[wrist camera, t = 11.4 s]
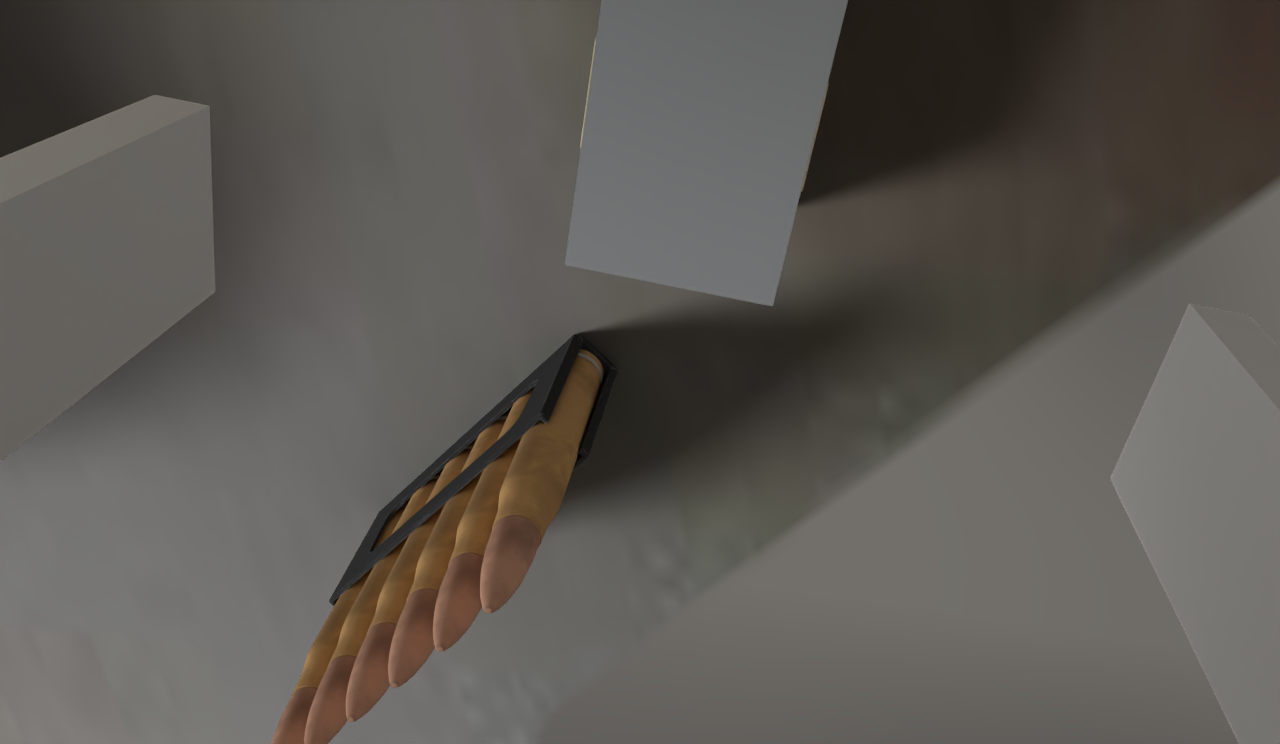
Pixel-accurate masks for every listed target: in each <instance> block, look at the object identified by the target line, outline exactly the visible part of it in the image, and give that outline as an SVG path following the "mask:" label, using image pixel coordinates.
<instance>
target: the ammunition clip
mask: <svg viewBox="0 0 1280 744" xmlns="http://www.w3.org/2000/svg"><path fill="white" fill-rule="evenodd" d="M616 373H617V369H616V368H615V367H614V366H613V365H612V364H611V363H610V362H609V361H607V360H606V359H605V358H604V357H603V356H602V355H601V354H600V353H599V352H598V351H597V350H596V349H595V348H593V347H592V346H591V345H590V344H589V343H588V342H587V341H586V340H585V339H584V338H583V337H582V336H581V335H573V336H572V337H571V338H570V339H569V340H568V341H567V342H566V343H564V344H563V345H562V346H561V347H560V348H559V349H558V350H557V351H556V352H555V353H553V354H552V355H551V356H550V357H549V358H548V359H547V360H546V361H545V362H544V363H542V364H541V365H540V366H539V367H538V368H537V369H536V370H535V371H534V372H533V373H531V374H530V375H529V376H528V377H527V378H526V379H525V380H524V381H523V382H522V383H520V384H519V385H518V386H517V387H516V388H515V389H514V390H513V391H512V392H511V393H509V394H508V395H507V396H506V397H505V398H504V399H503V400H502V401H501V402H500V403H499V404H497V405H496V406H495V407H494V408H493V409H492V410H491V411H490V412H489V413H488V414H486V415H485V416H484V417H483V418H482V419H481V420H480V421H479V422H478V423H477V424H475V425H474V426H473V427H472V428H471V429H470V430H469V431H468V432H467V433H466V434H464V435H463V436H462V437H461V438H460V439H459V440H458V441H457V442H456V443H455V444H453V445H452V446H451V447H450V448H449V449H448V450H447V451H446V452H445V453H444V454H442V455H441V456H440V457H439V458H438V459H437V460H436V461H435V462H434V463H433V464H432V465H430V466H429V467H428V468H427V469H426V470H425V471H424V472H423V473H422V474H421V475H419V476H418V477H417V478H416V479H415V480H414V481H413V482H412V483H411V484H410V485H408V486H407V487H406V488H405V489H404V490H403V491H402V492H401V493H400V494H399V495H397V496H396V497H395V498H394V499H393V500H392V501H391V502H390V503H389V504H388V505H386V506H385V507H384V508H383V509H382V510H381V511H380V512H379V513H378V515H377V517H376V519H375V520H374V522H373V524H372V526H371V527H370V529H369V531H368V533H367V534H366V536H365V538H364V540H363V542H362V543H361V545H360V547H359V549H358V550H357V552H356V554H355V556H354V557H353V559H352V561H351V563H350V565H349V566H348V568H347V570H346V572H345V573H344V575H343V577H342V579H341V581H340V582H339V584H338V586H337V588H336V589H335V591H334V593H333V595H332V596H331V598H330V600H329V602H330V603H331V604H332V605H333V606H334V608H333V610H332V611H331V613H330V615H329V617H328V618H327V620H326V622H325V624H324V625H323V627H322V629H321V631H320V633H319V634H318V636H317V638H316V640H315V641H314V643H313V645H312V647H311V649H310V651H309V653H308V656H307V658H306V661H305V665H304V668H303V672H302V675H301V677H300V679H299V681H298V683H297V685H296V687H295V689H294V691H293V694H292V697H291V699H290V701H289V703H288V705H287V707H286V708H285V710H284V712H283V714H282V717H281V719H280V721H279V724H278V726H277V729H276V731H275V734H274V736H273V739H272V742H271V744H328V743H329V742H330V741H331V740H332V739H333V737H334V736H335V735H336V734H337V733H338V732H339V731H340V730H341V728H342V727H343V726H344V725H345V723H346V722H347V721H350V722H355V721H356V720H358V719H360V718H361V717H362V716H364V715H365V714H366V713H367V712H368V711H369V710H371V709H372V707H373V706H374V705H375V704H376V703H377V702H378V701H379V700H380V698H381V697H382V696H383V695H384V693H385V692H386V691H387V689H388V688H389V686H390V685H391V686H392V687H393V688H397V687H400V686H401V685H403V684H404V683H406V682H407V681H408V680H409V679H410V678H411V677H413V676H414V675H415V673H416V672H417V671H418V670H419V669H420V668H421V667H422V665H423V664H424V663H425V662H426V660H427V659H428V658H429V656H430V655H431V653H432V651H433V650H434V648H436V650H437V651H439V652H443V651H445V650H447V649H448V648H450V647H451V646H452V645H454V644H455V643H456V642H457V641H458V640H459V639H460V638H461V637H462V636H463V634H464V633H465V632H466V631H467V630H468V628H469V627H470V626H471V624H472V623H473V621H474V620H475V618H476V617H477V615H478V613H479V611H480V610H481V608H482V607H483V609H484V611H485V612H486V613H493V612H495V611H496V610H498V609H499V608H501V607H502V606H503V605H504V604H505V603H506V602H507V601H508V600H509V599H510V598H511V596H512V595H513V594H514V593H515V591H516V590H517V589H518V587H519V586H520V584H521V583H522V581H523V579H524V577H525V575H526V573H527V571H528V569H529V567H530V566H531V564H532V562H533V559H534V557H535V554H536V551H537V548H538V547H539V545H540V543H541V541H542V539H543V536H544V534H545V532H546V529H547V528H548V526H549V525H550V524H551V522H552V521H553V519H554V518H555V516H556V514H557V512H558V511H559V508H560V506H561V504H562V501H563V498H564V495H565V492H566V489H567V486H568V483H569V480H570V477H571V474H572V471H573V469H574V468H575V467H576V466H578V465H579V464H580V463H581V462H582V461H584V460H585V459H586V458H587V457H588V456H589V453H590V450H591V447H592V444H593V441H594V438H595V435H596V432H597V429H598V426H599V423H600V420H601V417H602V414H603V411H604V408H605V405H606V402H607V399H608V396H609V393H610V391H611V388H612V385H613V382H614V379H615V376H616Z"/></svg>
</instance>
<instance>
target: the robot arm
mask: <svg viewBox="0 0 1280 744" xmlns="http://www.w3.org/2000/svg"><path fill="white" fill-rule="evenodd" d="M213 293H215V264H214V232H213V200H212V168H211V136H210V106H209V105H204V104H199V103H194V102H189V101H184V100H179V99H174V98H169V97H164V96H159V95H152V96H150V97H148V98H145V99H143V100H140V101H138V102H135V103H133V104H130V105H128V106H126V107H123V108H121V109H118V110H116V111H113V112H111V113H108V114H106V115H104V116H101V117H99V118H96V119H94V120H91V121H89V122H86V123H84V124H82V125H79V126H77V127H74V128H72V129H69V130H67V131H64V132H62V133H60V134H57V135H55V136H52V137H50V138H47V139H45V140H42V141H40V142H38V143H35V144H33V145H30V146H28V147H25V148H23V149H20V150H18V151H16V152H13V153H11V154H8V155H6V156H3V157H1V158H0V462H1V461H2V460H4V459H5V458H6V457H7V456H9V455H10V454H11V453H12V452H14V451H15V450H16V449H17V448H19V447H20V446H21V445H23V444H24V443H25V442H26V441H28V440H29V439H30V438H31V437H33V436H34V435H35V434H36V433H38V432H39V431H40V430H41V429H43V428H44V427H45V426H47V425H48V424H49V423H50V422H52V421H53V420H54V419H55V418H57V417H58V416H59V415H60V414H62V413H63V412H64V411H65V410H67V409H68V408H69V407H71V406H72V405H73V404H74V403H76V402H77V401H78V400H79V399H81V398H82V397H83V396H84V395H86V394H87V393H88V392H89V391H91V390H92V389H93V388H95V387H96V386H97V385H98V384H100V383H101V382H102V381H103V380H105V379H106V378H107V377H108V376H110V375H111V374H112V373H113V372H115V371H116V370H117V369H119V368H120V367H121V366H122V365H124V364H125V363H126V362H127V361H129V360H130V359H131V358H132V357H134V356H135V355H136V354H137V353H139V352H140V351H141V350H143V349H144V348H145V347H146V346H148V345H149V344H150V343H151V342H153V341H154V340H155V339H156V338H158V337H159V336H160V335H161V334H163V333H164V332H165V331H167V330H168V329H169V328H170V327H172V326H173V325H174V324H175V323H177V322H178V321H179V320H180V319H182V318H183V317H184V316H185V315H187V314H188V313H189V312H191V311H192V310H193V309H194V308H196V307H197V306H198V305H199V304H201V303H202V302H203V301H204V300H206V299H207V298H208V297H209V296H211V295H212V294H213ZM1110 480H1111V482H1112V484H1113V486H1114V488H1115V490H1116V492H1117V494H1118V496H1119V498H1120V500H1121V502H1122V504H1123V506H1124V509H1125V510H1126V513H1127V515H1128V516H1129V519H1130V521H1131V523H1132V525H1133V527H1134V529H1135V531H1136V533H1137V535H1138V537H1139V539H1140V541H1141V543H1142V546H1143V548H1144V550H1145V552H1146V554H1147V556H1148V558H1149V560H1150V562H1151V564H1152V566H1153V568H1154V570H1155V572H1156V574H1157V576H1158V578H1159V580H1160V582H1161V585H1162V587H1163V589H1164V591H1165V593H1166V595H1167V597H1168V599H1169V601H1170V603H1171V605H1172V607H1173V609H1174V611H1175V613H1176V615H1177V617H1178V620H1179V622H1180V624H1181V626H1182V628H1183V630H1184V632H1185V634H1186V636H1187V638H1188V640H1189V642H1190V644H1191V646H1192V648H1193V650H1194V652H1195V655H1196V656H1197V659H1198V661H1199V663H1200V665H1201V667H1202V669H1203V671H1204V673H1205V675H1206V677H1207V679H1208V681H1209V683H1210V685H1211V687H1212V689H1213V692H1214V694H1215V696H1216V698H1217V700H1218V702H1219V704H1220V706H1221V708H1222V710H1223V712H1224V714H1225V716H1226V718H1227V720H1228V722H1229V725H1230V727H1231V729H1232V730H1233V733H1234V735H1235V737H1236V739H1237V741H1238V743H1239V744H1280V347H1279V346H1278V345H1277V344H1276V343H1275V342H1274V341H1273V340H1272V339H1271V338H1270V337H1269V336H1268V335H1267V334H1266V332H1265V331H1263V329H1262V328H1261V327H1260V326H1259V325H1258V324H1257V323H1256V322H1255V321H1254V320H1253V319H1252V318H1251V317H1250V315H1247V314H1242V313H1237V312H1231V311H1227V310H1222V309H1216V308H1212V307H1207V306H1202V305H1197V304H1192V303H1189V305H1188V307H1187V310H1186V312H1185V314H1184V316H1183V319H1182V321H1181V323H1180V325H1179V327H1178V330H1177V332H1176V334H1175V336H1174V338H1173V340H1172V343H1171V345H1170V348H1169V349H1168V352H1167V354H1166V356H1165V358H1164V360H1163V363H1162V365H1161V367H1160V369H1159V371H1158V374H1157V376H1156V378H1155V380H1154V382H1153V385H1152V387H1151V389H1150V391H1149V394H1148V396H1147V398H1146V400H1145V402H1144V404H1143V407H1142V409H1141V411H1140V413H1139V415H1138V418H1137V420H1136V422H1135V424H1134V427H1133V429H1132V431H1131V433H1130V435H1129V438H1128V440H1127V442H1126V444H1125V446H1124V449H1123V451H1122V453H1121V455H1120V458H1119V460H1118V462H1117V464H1116V466H1115V468H1114V471H1113V473H1112V475H1111V477H1110Z"/></svg>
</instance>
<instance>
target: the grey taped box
mask: <svg viewBox="0 0 1280 744" xmlns="http://www.w3.org/2000/svg"><path fill="white" fill-rule="evenodd" d="M847 2H848V0H602V2H601V9H600V16H599V23H598V30H597V37H596V39H595V44H594V51H593V58H592V65H591V72H590V79H589V87H588V94H587V101H586V108H585V115H584V122H583V130H582V137H581V144H580V148H581V152H580V159H579V166H578V173H577V180H576V187H575V195H574V202H573V209H572V216H571V223H570V230H569V237H568V245H567V252H566V259H565V265H567V266H572V267H577V268H582V269H587V270H592V271H597V272H602V273H607V274H612V275H617V276H622V277H627V278H632V279H637V280H642V281H647V282H652V283H657V284H662V285H667V286H672V287H677V288H682V289H688V290H693V291H698V292H703V293H708V294H713V295H718V296H723V297H728V298H733V299H738V300H743V301H748V302H753V303H758V304H763V305H768V306H773V303H774V299H775V295H776V291H777V287H778V283H779V279H780V275H781V271H782V267H783V263H784V259H785V255H786V250H787V246H788V242H789V238H790V234H791V230H792V226H793V222H794V218H795V214H796V210H797V206H798V202H799V198H800V194H801V191H803V187H804V183H805V179H806V175H807V171H808V167H809V163H810V159H811V155H812V151H813V147H814V143H815V139H816V135H817V131H818V127H819V123H820V118H821V114H822V110H823V106H824V102H825V98H826V94H827V90H828V86H829V82H828V80H829V76H830V72H831V67H832V63H833V59H834V55H835V51H836V47H837V43H838V39H839V35H840V31H841V27H842V23H843V19H844V15H845V11H846V7H847Z"/></svg>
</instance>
